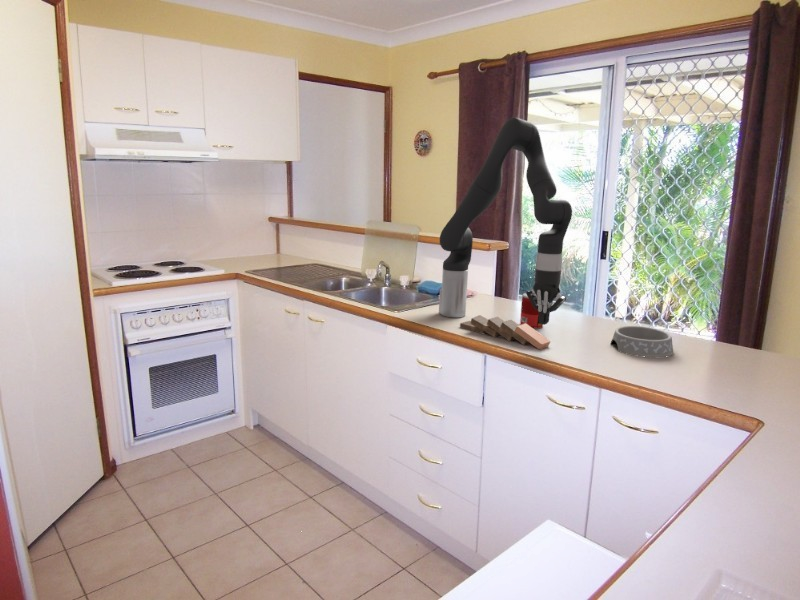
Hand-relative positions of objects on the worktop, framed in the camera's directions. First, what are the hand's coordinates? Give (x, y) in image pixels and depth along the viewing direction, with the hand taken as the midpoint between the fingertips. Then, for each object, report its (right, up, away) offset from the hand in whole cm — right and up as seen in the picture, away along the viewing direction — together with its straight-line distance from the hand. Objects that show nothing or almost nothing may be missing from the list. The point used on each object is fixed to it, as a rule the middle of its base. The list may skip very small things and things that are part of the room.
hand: (543, 323), depth 166 cm
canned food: (+3, -2, +26) cm, 26 cm away
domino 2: (-11, -3, +12) cm, 17 cm away
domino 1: (-14, -3, +16) cm, 22 cm away
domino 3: (-7, -5, +8) cm, 12 cm away
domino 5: (+1, -7, +1) cm, 7 cm away
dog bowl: (+31, -8, +4) cm, 33 cm away
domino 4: (-3, -6, +5) cm, 8 cm away
